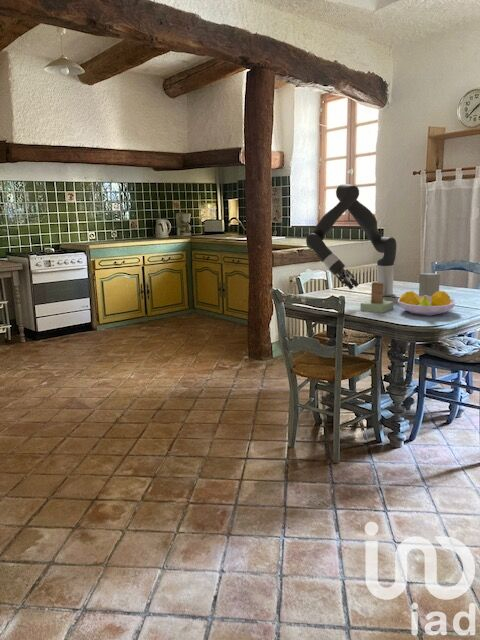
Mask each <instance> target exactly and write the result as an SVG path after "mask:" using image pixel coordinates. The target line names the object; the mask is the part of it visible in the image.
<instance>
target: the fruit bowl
mask: <svg viewBox="0 0 480 640" xmlns="http://www.w3.org/2000/svg"><path fill="white" fill-rule="evenodd" d="M397 303H398V304H399V306H400V308H401V309H403V310H405V311H407V312H408V313H409V314H412V315H421V316H429V317H430V316H434V315H435V316H436V315H439V314H444V313H447V312H448V311H450V310H452V309H453V308H454V306H455V305H456V300H454V299H451V297H450V295H449V294H448V293H447V292H446V291H445V290H439V291H436V292H435V293H434V294H433V295H432V296H426V295H424V296H419V294H417V293H416V292H414V291H413V290H410V291H406V292H404V293H403V294H401V296H400V297H399V298H398V300H397Z"/></svg>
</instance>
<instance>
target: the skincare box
mask: <svg viewBox="0 0 480 640" xmlns="http://www.w3.org/2000/svg"><path fill="white" fill-rule="evenodd" d="M440 278H441V274H440V273H434V272H431V273H430V272H429V273H428V272H427V273H425V272H424V273H419V288H418V295H419V296H424V295H426V296H432V295H433V294H434V293H435V292H436V291H440V280H441V279H440Z"/></svg>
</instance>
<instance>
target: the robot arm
mask: <svg viewBox="0 0 480 640" xmlns="http://www.w3.org/2000/svg"><path fill="white" fill-rule="evenodd" d="M335 195H336V199H337V200H338V201H339V202H338V203H337V204H336V205H335V206H334V207H332V208H331V209H329V211H328V212H326V213H325V214H324V215H323V216H322V217H321V218H320V220H319V222H317V224H316V226H315V228H314V231H313V232H312V233H311V232H310V233H309V234H308V235H307V236H306V239H305V241H306V246H307V248H308V249H310V250H313V252H315V253H316V256H317V257H318V259H320V261H321V262H322V263H323V264H324V266H325V267H326V268H327V269H328V270H329V271H330V273H331V274H333V276H335V277H336V279H338V280H339V282H340V283H341V284H342V285H345V286H346V287H347V288H348V289H349V290H352V289H354V287H355V288H357V287H358V286H359V283H358V281H356V279H355V275H353V274H352V273H351V271H350V270H349V269H344V268H345V267H346V265H345V264H344V262H342V260H340V258H339V257H338V256H337V255H336V254H334V253H333V251H332V250H331V249H330V248H329V247H328V246H327V245H326V244H325V242H324V238H325V237H326V235H327V234H328V233H329V232H330V230H331V229H332V228H333V226H334V225H335V223H336V222H337V221H338V219H340V217H341V216H342V215H343V214H344V213H345V212H346V211H348V212H349V214H351V216H352V218H353V219H354V220H355V221H356V223H357V224H358V225H359V227H360V228H361V229H362V231H363V232H364V234H365V235H366V236H367V237H368V239H369V241H370V242H371V244H372V246H373V248H374V249H375V250H376V252H378V253H380V254H383V256H382V258H380V259H377V260H376V261H377V263H376V266H377V267H376V282H384V288H383V297H386V296H393V294H394V290H393V289H394V268H395V261H396V255H397V239H395V238H394V237H393V236H383V235H382V234H381V233H380V231H379V230H378V220H377V218H376V216H375V215H374V213H373V212H372V211H371V210H370V209H369V208H368V207H366V206H365V205H364V204H362V203H361V202H360V201H359V200H358V198H359V196H360V190H359V188H358V186H356V185H355V184H354V185H353V184H349V183H348V184H347V183H342V184H340V185H338V186H337V188H336V190H335Z"/></svg>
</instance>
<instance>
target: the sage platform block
mask: <svg viewBox="0 0 480 640" xmlns="http://www.w3.org/2000/svg"><path fill="white" fill-rule="evenodd" d="M392 309H394V301H390V300H383V302H382V303H381V304H378V303H371V299H369V300H366V301H363V302H360V311H365V312H375V313H386V312H388V311H390V310H392Z"/></svg>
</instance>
